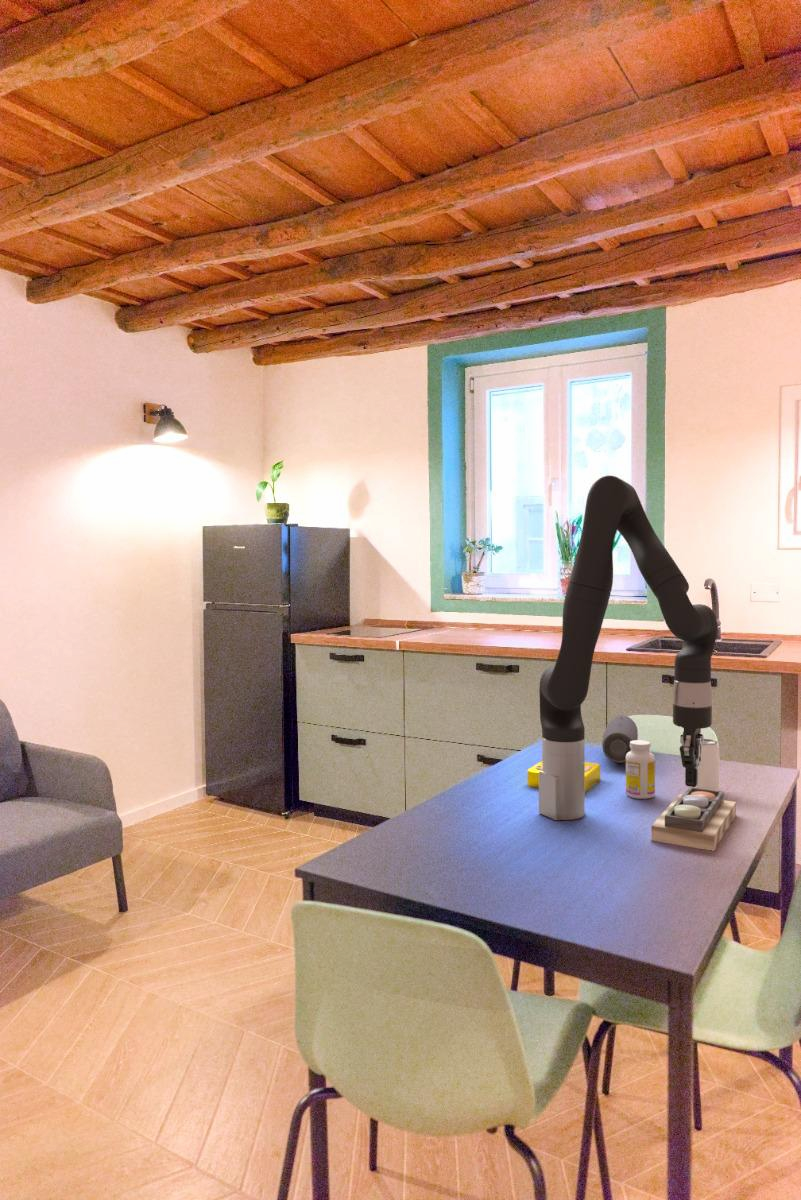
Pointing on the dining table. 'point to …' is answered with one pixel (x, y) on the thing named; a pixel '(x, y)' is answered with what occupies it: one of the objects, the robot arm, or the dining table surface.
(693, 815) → the button sage
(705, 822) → the button panel
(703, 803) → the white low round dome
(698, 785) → the can
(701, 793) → the button terracotta
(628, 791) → the supplement bottle
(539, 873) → the dining table surface
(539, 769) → the element tile
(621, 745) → the bluetooth speaker
